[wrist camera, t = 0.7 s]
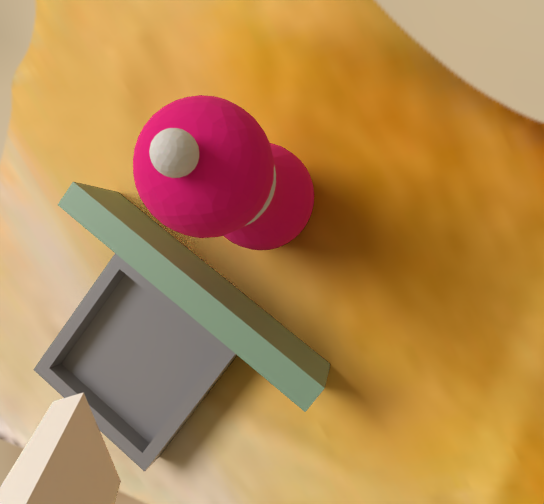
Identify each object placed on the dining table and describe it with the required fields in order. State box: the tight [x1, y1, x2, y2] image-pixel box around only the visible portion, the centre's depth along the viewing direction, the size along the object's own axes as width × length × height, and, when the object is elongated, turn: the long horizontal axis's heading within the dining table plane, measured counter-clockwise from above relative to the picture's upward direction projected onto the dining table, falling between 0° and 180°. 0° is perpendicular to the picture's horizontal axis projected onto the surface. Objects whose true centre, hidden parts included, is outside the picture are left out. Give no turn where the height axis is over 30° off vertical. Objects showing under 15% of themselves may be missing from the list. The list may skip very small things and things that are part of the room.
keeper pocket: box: [34, 253, 237, 471], centre depth 36 cm, size 12×12×2 cm
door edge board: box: [58, 182, 330, 412], centre depth 33 cm, size 22×2×6 cm, turn 53°
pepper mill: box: [133, 95, 314, 250], centre depth 26 cm, size 7×7×20 cm
